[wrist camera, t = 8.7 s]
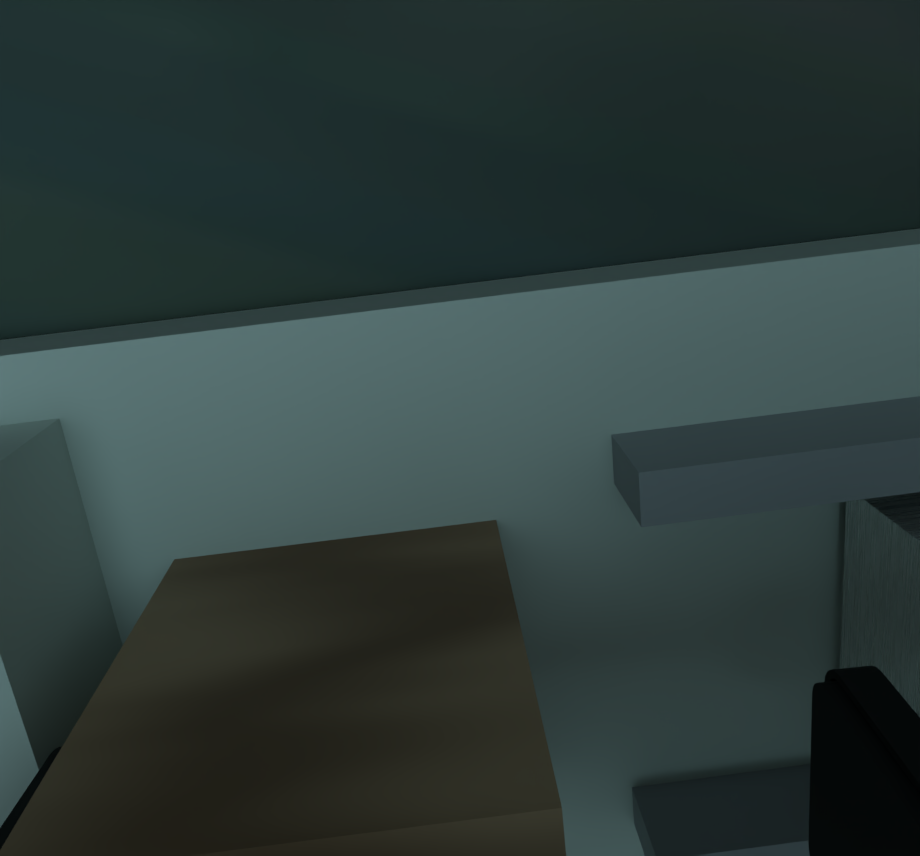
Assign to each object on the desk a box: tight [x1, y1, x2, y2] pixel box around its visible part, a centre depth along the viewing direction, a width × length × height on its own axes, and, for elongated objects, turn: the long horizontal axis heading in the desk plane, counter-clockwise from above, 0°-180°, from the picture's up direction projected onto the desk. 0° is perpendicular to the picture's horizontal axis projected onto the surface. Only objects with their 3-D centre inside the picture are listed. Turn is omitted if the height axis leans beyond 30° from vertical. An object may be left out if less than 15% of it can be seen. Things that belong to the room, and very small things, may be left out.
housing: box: [0, 520, 566, 856], centre depth 11 cm, size 5×5×6 cm
